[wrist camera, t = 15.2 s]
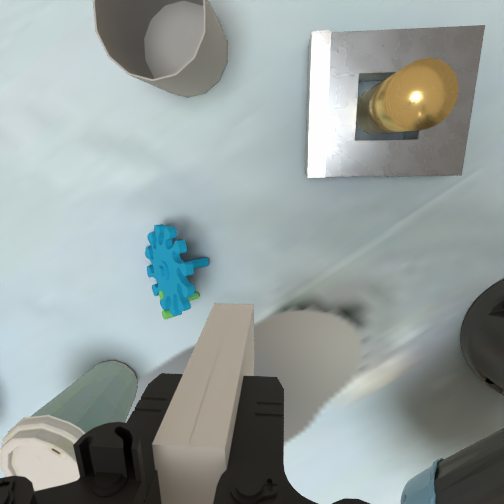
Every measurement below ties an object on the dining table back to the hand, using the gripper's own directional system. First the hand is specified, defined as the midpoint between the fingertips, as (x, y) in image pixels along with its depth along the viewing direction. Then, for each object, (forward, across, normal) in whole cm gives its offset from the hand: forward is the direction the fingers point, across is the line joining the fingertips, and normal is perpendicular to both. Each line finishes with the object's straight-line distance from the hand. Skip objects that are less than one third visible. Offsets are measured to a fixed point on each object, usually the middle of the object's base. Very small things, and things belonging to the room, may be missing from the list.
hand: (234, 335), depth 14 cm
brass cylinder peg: (+26, -11, -10) cm, 30 cm away
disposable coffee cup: (+27, +21, +23) cm, 41 cm away
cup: (+27, +8, -16) cm, 32 cm away
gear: (+27, +11, +6) cm, 29 cm away
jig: (+26, -11, -10) cm, 30 cm away
